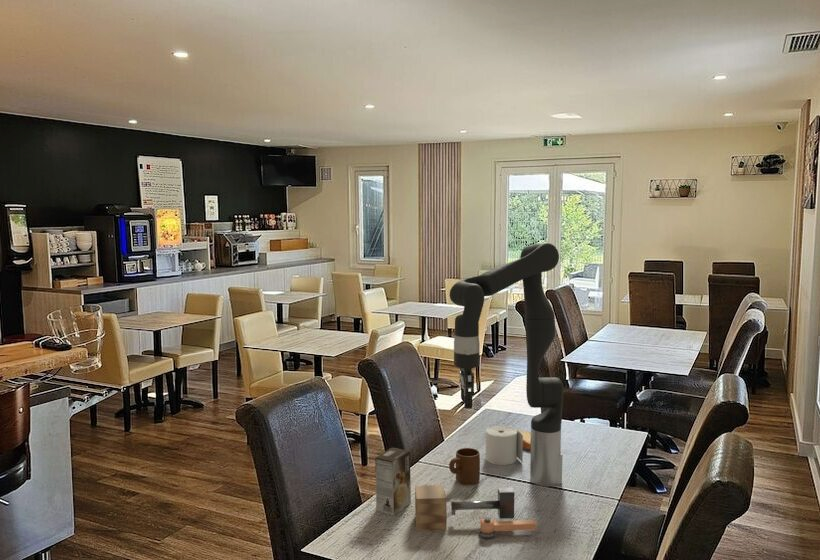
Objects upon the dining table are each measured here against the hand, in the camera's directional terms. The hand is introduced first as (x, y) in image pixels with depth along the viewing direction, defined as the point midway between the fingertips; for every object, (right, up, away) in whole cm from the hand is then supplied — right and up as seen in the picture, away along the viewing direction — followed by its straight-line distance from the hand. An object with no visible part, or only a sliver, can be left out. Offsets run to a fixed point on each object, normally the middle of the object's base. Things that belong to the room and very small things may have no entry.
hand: (466, 403), depth 187 cm
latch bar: (+9, -29, -20) cm, 37 cm away
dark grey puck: (+4, -31, -21) cm, 37 cm away
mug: (0, -27, +11) cm, 29 cm away
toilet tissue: (+15, -25, +30) cm, 42 cm away
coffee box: (-22, -29, -5) cm, 37 cm away
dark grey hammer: (+3, -28, -14) cm, 32 cm away
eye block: (-11, -30, -14) cm, 35 cm away
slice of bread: (+24, -24, +45) cm, 57 cm away
